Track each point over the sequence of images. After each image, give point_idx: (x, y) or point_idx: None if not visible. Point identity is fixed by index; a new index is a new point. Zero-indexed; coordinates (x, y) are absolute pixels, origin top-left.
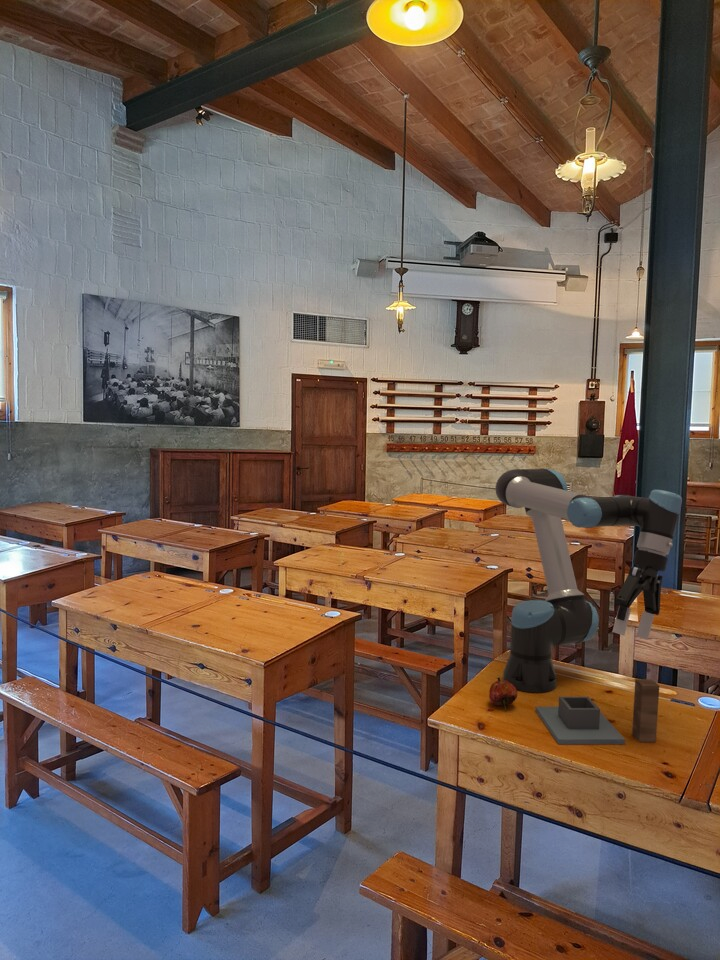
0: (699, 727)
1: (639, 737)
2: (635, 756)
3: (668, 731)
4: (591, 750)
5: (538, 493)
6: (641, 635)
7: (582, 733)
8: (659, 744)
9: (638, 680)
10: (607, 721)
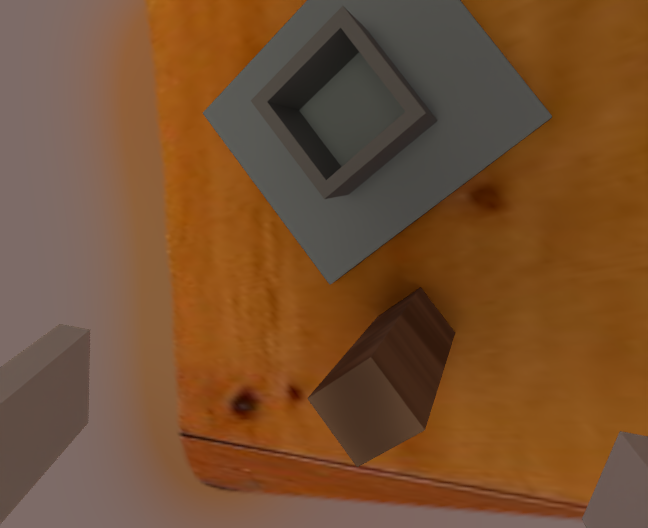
0: None
1: (375, 320)
2: (282, 320)
3: (526, 390)
4: (238, 207)
5: None
6: (613, 488)
7: (284, 159)
8: None
9: (361, 373)
10: (430, 201)
